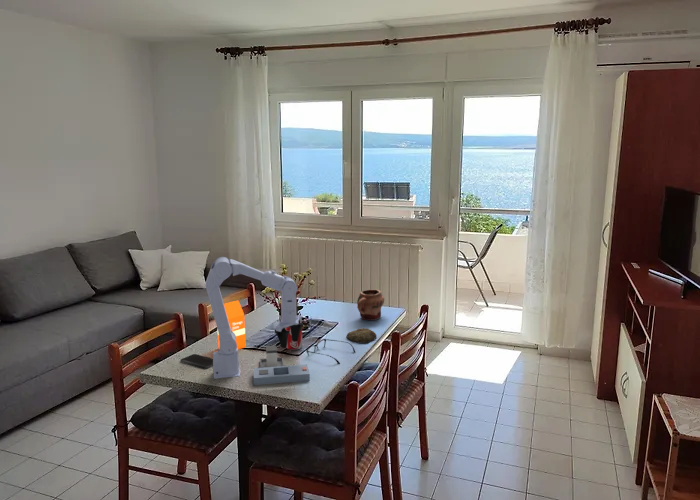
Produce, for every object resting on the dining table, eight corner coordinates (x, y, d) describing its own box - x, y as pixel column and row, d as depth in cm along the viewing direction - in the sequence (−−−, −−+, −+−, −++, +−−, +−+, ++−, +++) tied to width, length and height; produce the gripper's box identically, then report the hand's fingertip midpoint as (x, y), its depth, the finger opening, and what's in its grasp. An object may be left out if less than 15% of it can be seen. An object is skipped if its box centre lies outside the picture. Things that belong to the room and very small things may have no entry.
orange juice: (218, 348, 228) (215, 302, 224) (235, 342, 235) (233, 298, 231) (228, 352, 223) (226, 306, 219) (246, 346, 229) (244, 301, 226)
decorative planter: (370, 326, 255) (370, 298, 252) (348, 322, 261) (348, 294, 258) (389, 315, 272) (389, 288, 269) (368, 311, 278) (368, 285, 275)
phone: (206, 367, 206) (179, 359, 214) (206, 370, 206) (179, 362, 214) (220, 360, 212) (194, 353, 220) (221, 363, 213) (194, 356, 220)
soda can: (306, 348, 228) (305, 321, 225) (293, 352, 222) (292, 325, 220) (295, 344, 232) (294, 317, 230) (282, 348, 227) (281, 321, 225)
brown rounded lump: (361, 345, 231) (361, 334, 230) (342, 338, 240) (342, 327, 239) (382, 338, 239) (382, 328, 238) (363, 332, 248) (363, 321, 247)
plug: (266, 368, 205) (266, 351, 204) (266, 363, 210) (266, 346, 209) (277, 367, 206) (276, 350, 205) (276, 362, 211) (276, 345, 210)
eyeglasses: (325, 346, 231) (325, 337, 230) (357, 352, 224) (357, 343, 223) (304, 358, 217) (304, 349, 216) (338, 366, 209) (338, 356, 209)
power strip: (253, 386, 191) (253, 377, 190) (253, 375, 200) (253, 367, 199) (309, 381, 194) (309, 372, 194) (307, 371, 203) (307, 363, 203)
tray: (260, 372, 202) (260, 369, 202) (259, 362, 212) (259, 358, 212) (284, 370, 204) (284, 367, 204) (283, 360, 214) (283, 357, 214)
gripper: (286, 316, 195) (287, 352, 197) (308, 306, 207) (308, 339, 210) (270, 313, 198) (271, 348, 200) (292, 304, 211) (293, 337, 213)
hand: (289, 344), depth 205 cm, fingers open, 7 cm apart
